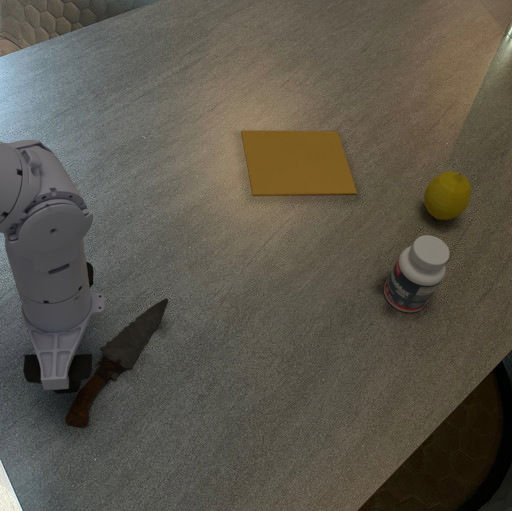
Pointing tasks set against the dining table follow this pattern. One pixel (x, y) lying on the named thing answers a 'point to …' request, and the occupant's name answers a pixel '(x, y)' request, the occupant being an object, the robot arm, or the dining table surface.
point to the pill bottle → (417, 274)
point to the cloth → (297, 163)
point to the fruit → (447, 195)
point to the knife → (116, 360)
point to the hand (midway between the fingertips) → (68, 354)
